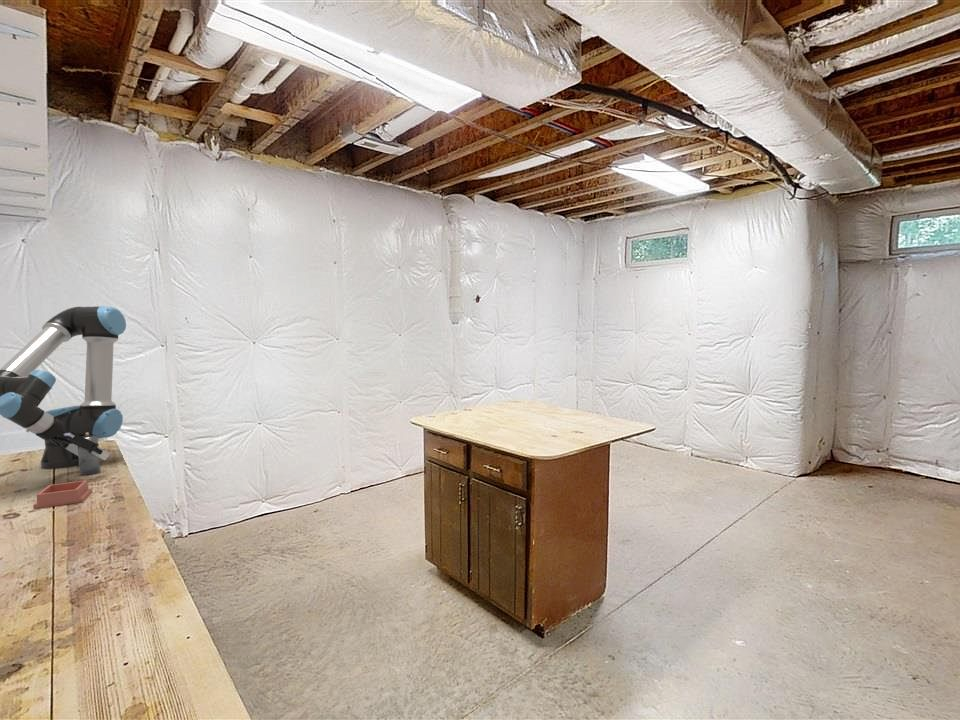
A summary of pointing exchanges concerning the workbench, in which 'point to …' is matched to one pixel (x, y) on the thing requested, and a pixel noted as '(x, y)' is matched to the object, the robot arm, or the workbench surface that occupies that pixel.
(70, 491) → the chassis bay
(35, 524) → the workbench surface
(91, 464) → the motor housing
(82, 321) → the robot arm
